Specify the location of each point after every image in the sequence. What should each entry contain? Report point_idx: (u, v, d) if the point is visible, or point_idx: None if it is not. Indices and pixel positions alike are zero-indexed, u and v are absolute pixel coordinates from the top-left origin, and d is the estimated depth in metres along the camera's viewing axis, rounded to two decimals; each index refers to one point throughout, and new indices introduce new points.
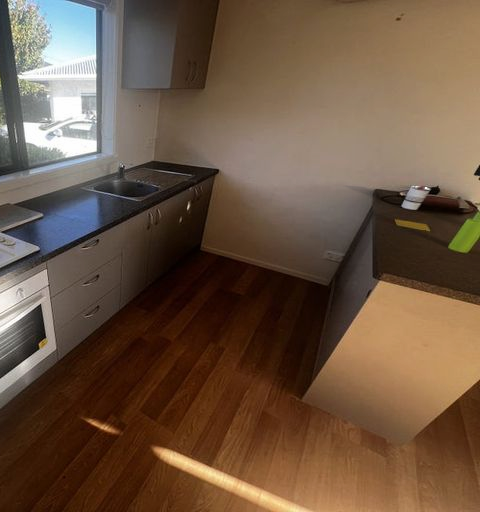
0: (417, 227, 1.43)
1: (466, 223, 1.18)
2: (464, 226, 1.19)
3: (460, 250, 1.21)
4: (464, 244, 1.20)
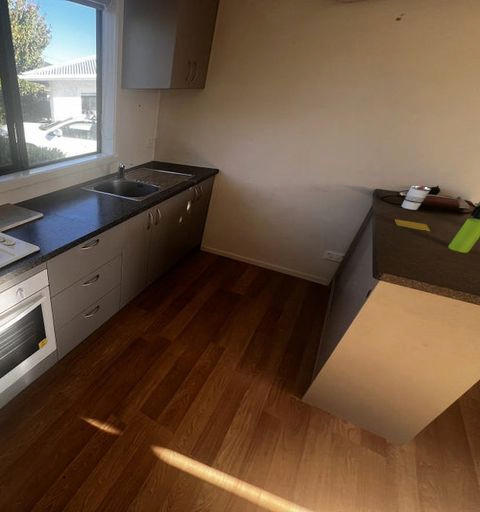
0: (417, 227, 1.43)
1: (466, 223, 1.18)
2: (464, 226, 1.19)
3: (460, 250, 1.21)
4: (464, 244, 1.20)
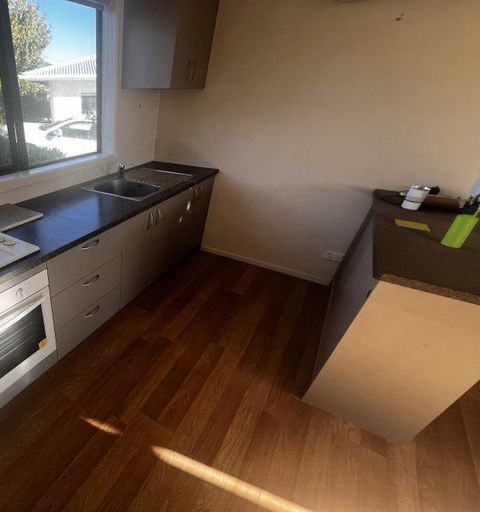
0: (417, 227, 1.43)
1: (456, 219, 1.22)
2: (455, 222, 1.23)
3: (452, 245, 1.24)
4: (455, 240, 1.23)
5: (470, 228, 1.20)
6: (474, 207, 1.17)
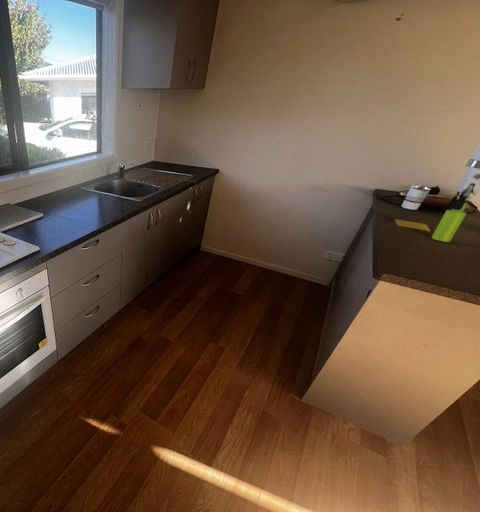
0: (417, 227, 1.43)
1: (445, 213, 1.28)
2: (443, 216, 1.28)
3: (441, 239, 1.29)
4: (444, 233, 1.28)
5: (458, 222, 1.25)
6: (461, 202, 1.22)
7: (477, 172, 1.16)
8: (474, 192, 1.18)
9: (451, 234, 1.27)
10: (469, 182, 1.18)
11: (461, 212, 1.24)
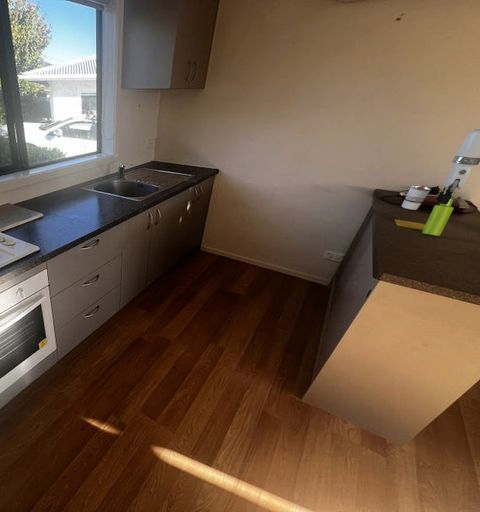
0: (417, 227, 1.43)
1: (433, 208, 1.33)
2: (432, 211, 1.34)
3: (430, 232, 1.33)
4: (432, 227, 1.33)
5: (445, 216, 1.30)
6: (447, 196, 1.28)
7: (462, 168, 1.22)
8: (459, 187, 1.24)
9: (439, 228, 1.32)
10: (454, 177, 1.24)
11: (448, 206, 1.29)
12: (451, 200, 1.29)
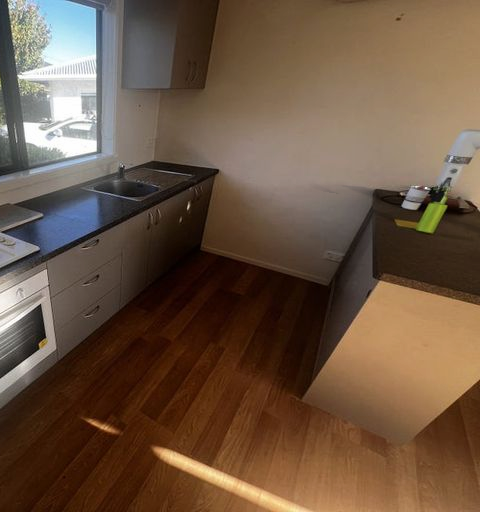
0: None
1: (427, 206, 1.36)
2: (426, 209, 1.36)
3: (423, 230, 1.36)
4: (426, 224, 1.36)
5: (439, 213, 1.33)
6: (440, 195, 1.31)
7: (453, 167, 1.25)
8: (451, 185, 1.27)
9: (433, 225, 1.34)
10: (446, 176, 1.27)
11: (442, 204, 1.32)
12: (445, 198, 1.31)
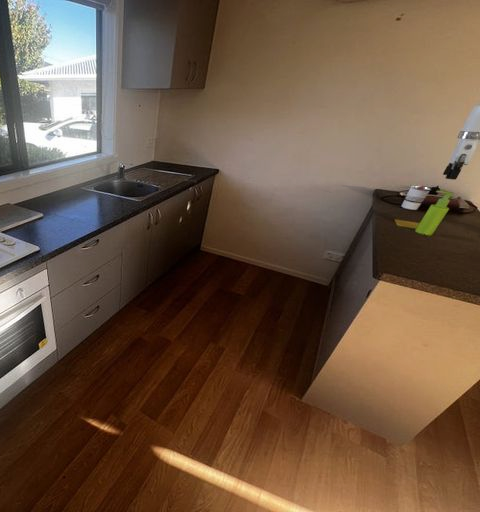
0: None
1: (429, 208, 1.34)
2: (427, 211, 1.35)
3: (422, 232, 1.37)
4: (425, 227, 1.35)
5: (439, 217, 1.32)
6: (456, 171, 1.24)
7: (467, 143, 1.20)
8: (465, 162, 1.22)
9: (432, 228, 1.34)
10: (460, 153, 1.22)
11: (443, 208, 1.30)
12: (447, 201, 1.29)
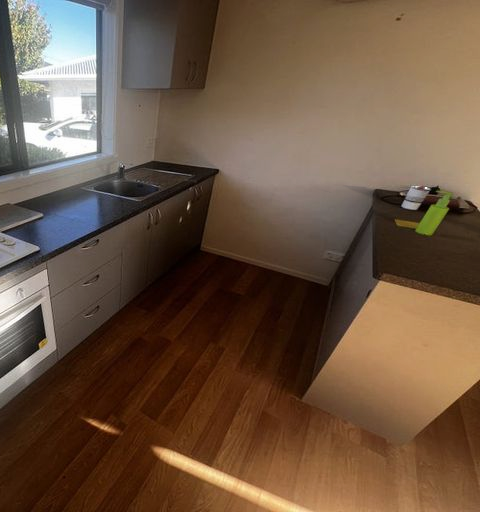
0: None
1: (429, 208, 1.34)
2: (427, 211, 1.35)
3: (422, 232, 1.37)
4: (425, 227, 1.35)
5: (439, 217, 1.32)
6: None
7: None
8: None
9: (432, 228, 1.34)
10: None
11: (443, 208, 1.30)
12: (447, 201, 1.29)
